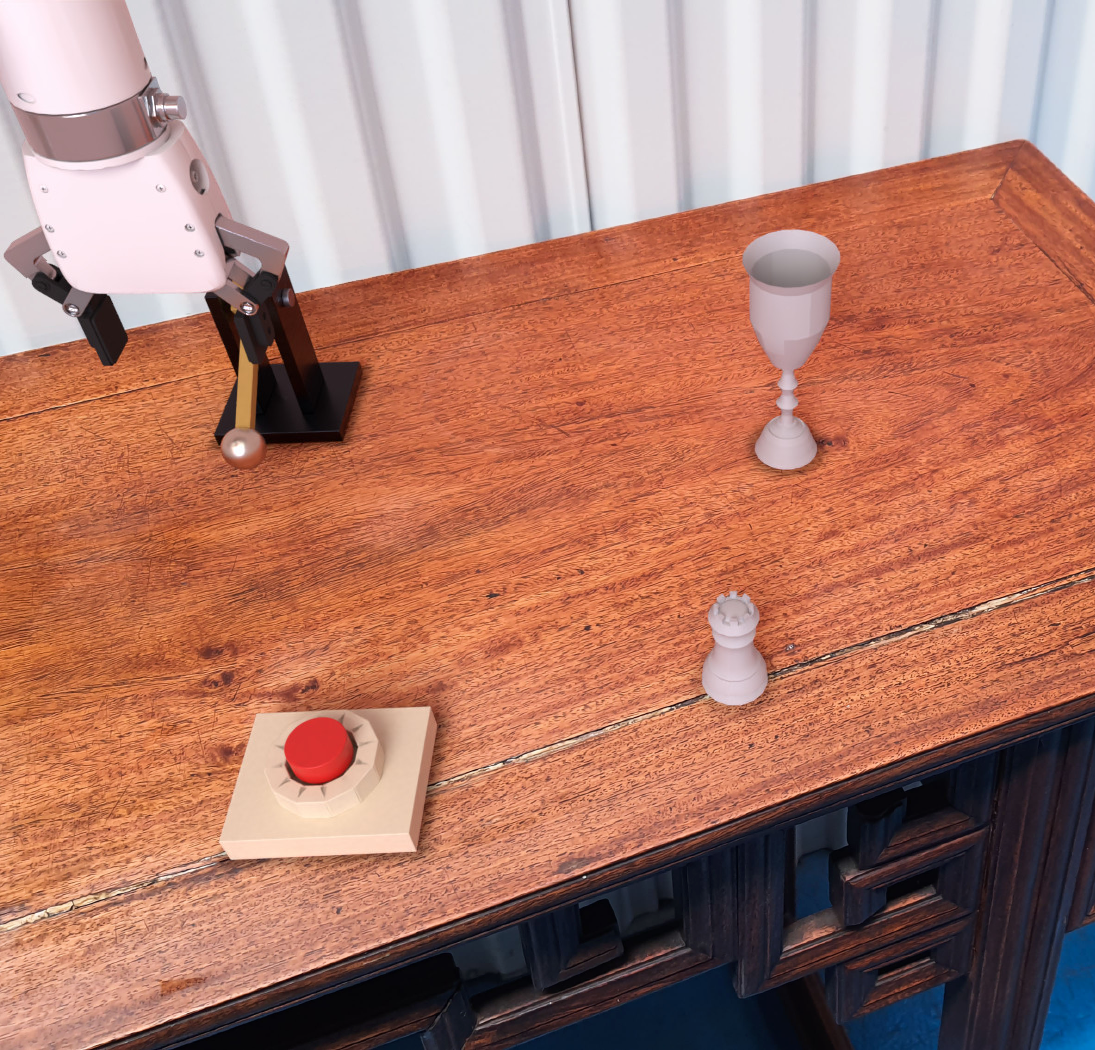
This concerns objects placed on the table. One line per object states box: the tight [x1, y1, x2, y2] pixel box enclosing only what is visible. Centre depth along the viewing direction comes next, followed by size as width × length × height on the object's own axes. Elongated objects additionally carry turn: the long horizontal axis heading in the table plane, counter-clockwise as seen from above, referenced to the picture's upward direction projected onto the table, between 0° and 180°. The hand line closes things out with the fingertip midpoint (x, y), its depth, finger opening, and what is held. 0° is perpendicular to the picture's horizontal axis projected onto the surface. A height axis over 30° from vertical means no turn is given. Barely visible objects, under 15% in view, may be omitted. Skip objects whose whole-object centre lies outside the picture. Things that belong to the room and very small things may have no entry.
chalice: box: [741, 229, 841, 471], centre depth 88 cm, size 7×7×18 cm
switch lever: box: [220, 280, 268, 471], centre depth 89 cm, size 15×3×3 cm
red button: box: [284, 717, 354, 784], centre depth 69 cm, size 4×4×2 cm
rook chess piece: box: [701, 590, 769, 706], centre depth 75 cm, size 4×4×8 cm
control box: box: [218, 706, 438, 861], centre depth 71 cm, size 11×9×4 cm
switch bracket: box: [203, 264, 364, 446], centre depth 93 cm, size 9×10×13 cm
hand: (189, 352), depth 80 cm, fingers open, 9 cm apart
